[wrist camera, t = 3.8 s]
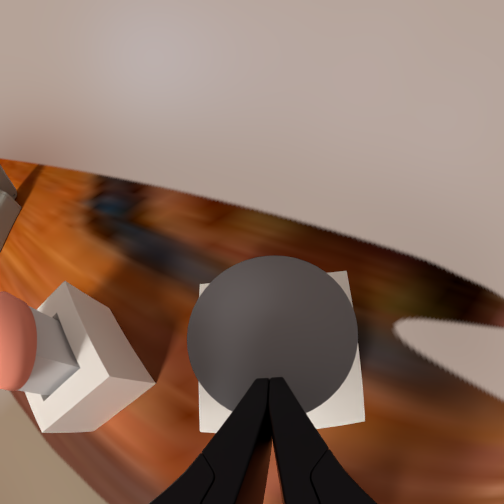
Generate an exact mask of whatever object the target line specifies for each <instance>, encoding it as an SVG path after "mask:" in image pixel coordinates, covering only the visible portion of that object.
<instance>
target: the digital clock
mask: <svg viewBox="0 0 504 504" xmlns="http://www.w3.org/2000/svg"><path fill="white" fill-rule="evenodd" d="M16 196H17V191H16V188H15V187H14V185H13V184H12V182H11V181H10V179H9V178H8V176H7V175H6V173H5V172H4V170H3V168H2V167H1V165H0V252H1V249H2V247H3V245H4V243H5V240H6V238H7V236H8V234H9V232H10V230H11V228H12V225H13V223H14V221H15V219H16V218H17V216H18V214H19V212H20V210H21V208H22V207H21V206H20V205H19V204H18V203H17V202H16V201H15V198H16Z"/></svg>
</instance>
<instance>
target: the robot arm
mask: <svg viewBox="0 0 504 504" xmlns="http://www.w3.org/2000/svg"><path fill="white" fill-rule="evenodd" d="M272 439H273V446H274V452H275V458H276V465H277V471H278V477H279V483H280V489H281V495H282V501H283V504H377V503H376V502H375V501H374V500H373V499H372V498H371V497H370V496H369V495H368V494H367V493H366V492H365V491H364V490H363V489H362V488H361V487H360V486H359V485H358V484H357V483H356V482H355V481H354V480H353V479H352V478H351V477H350V476H349V475H348V473H347V472H346V471H345V470H344V469H343V467H342V466H341V465H340V463H339V462H338V461H337V459H336V458H335V456H334V455H333V453H332V452H331V450H329V448H328V446H327V445H326V443H325V442H324V440H323V439H322V437H321V436H320V434H319V433H318V431H317V430H316V428H315V426H314V425H313V423H312V422H311V420H310V419H309V417H308V416H307V414H306V413H305V411H304V409H303V408H302V406H301V405H300V403H299V402H298V400H297V398H296V397H295V395H294V394H293V392H292V390H291V389H290V387H289V386H288V384H287V382H286V381H285V379H284V378H283V377H271V378H270V380H269V378H256V379H255V380H254V382H253V383H252V385H251V386H250V387H249V389H248V390H247V392H246V393H245V395H244V396H243V397H242V399H241V400H240V402H239V403H238V404H237V406H236V407H235V408H234V410H233V411H232V413H231V414H230V415H229V417H228V418H227V419H226V421H225V422H224V423H223V425H222V426H221V427H220V429H219V430H218V431H217V433H216V434H215V435H214V437H213V438H212V439H211V440H210V442H209V443H208V444H207V446H206V447H205V448H204V449H203V451H202V453H200V454H199V455H198V457H197V458H196V459H195V461H194V462H193V463H192V464H191V465H190V466H189V467H188V469H187V470H186V471H185V472H184V473H183V474H182V475H181V476H180V477H179V478H178V479H177V480H176V481H175V482H174V483H173V484H171V485H170V486H169V487H168V488H167V489H166V490H165V491H163V492H162V493H161V494H160V495H159V496H158V497H156V498H155V499H154V500H153V501H152V502H150V503H149V504H263V500H264V494H265V488H266V482H267V475H268V469H269V462H270V455H271V448H272Z"/></svg>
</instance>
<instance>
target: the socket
mask: <svg viewBox="0 0 504 504" xmlns="http://www.w3.org/2000/svg"><path fill="white" fill-rule="evenodd" d="M327 274H328V275H330V276H331V277H332V278H333V279H334V280H335V281H336V282H337V283H338V284H339V285H340V286H341V288H342V289H343V291H344V292H345V293H346V295H347V297H348V299H349V301H350V302H351V305H352V299H351V293H350V287H349V281H348V276H347V271H340V272H330V273H327ZM208 285H209V284H200V295H201V294H202V292H203V291H204V290H205V288H206V287H207V286H208ZM200 295H199V297H200ZM352 307H353V305H352ZM231 413H232V411H230V410H228V409H227V408H225V407H224V406H222V405H220V404H219V403H218V402H217V401H216V400H214V399H213V398H212V397H211V396H210V395H209V394H208V393H207V392H206V390H205V389H204V388H203V387H202V385H201V384H200V382H199V418H200V432H211V433H217V431H218V430H219V429H220V427H221V426H222V425H223V423H224V422H225V421H226V419H227V418H228V417H229V415H230V414H231ZM306 414H307V416H308V417H309V419H310V420H311V422H312V423H313V425H314V426H315V428H316V429H319V428H327V427H334V426H341V425H347V424H353V423H358V422H363V421H365V414H364V399H363V386H362V375H361V365H360V356H359V348H358V345H357V351H356V356H355V360H354V362H353V365H352V368H351V370H350V372H349V374H348V376H347V378H346V379H345V381H344V382H343V384H342V385H341V386H340V388H339V389H338V390H337V391H336V392H335V393H334V394H333V395H332V396H331V397H330V398H329V399H328V400H327V401H325V402H324V403H323V404H322V405H320V406H318V407H317V408H315V409H313V410H312V411H310V412H307V413H306Z"/></svg>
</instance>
